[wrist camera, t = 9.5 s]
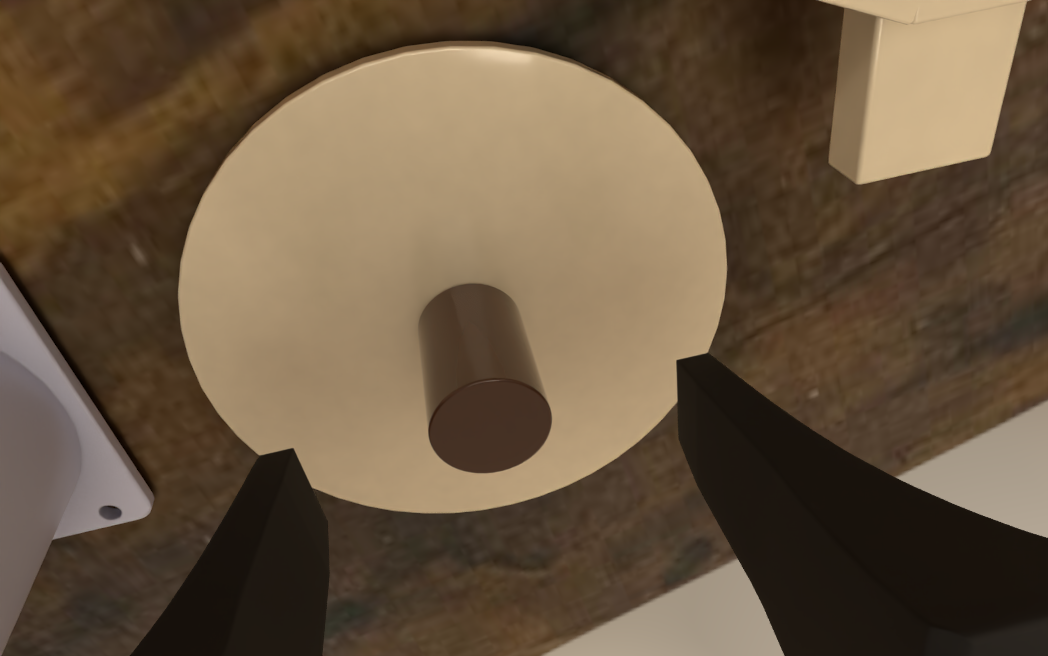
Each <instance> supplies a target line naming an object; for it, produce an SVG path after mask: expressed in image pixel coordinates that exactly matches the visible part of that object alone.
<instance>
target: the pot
mask: <svg viewBox="0 0 1048 656" xmlns="http://www.w3.org/2000/svg"><path fill="white" fill-rule="evenodd" d="M817 1H820V2H824V3H828V4H832V5H835V6H839V7H843V8H844V13H843V22H842V32H841V42H840V51H839V61H838V71H837V80H836V90H835V100H834V109H833V119H832V129H831V138H830V148H829V158H828V162H829V165H830V166H832V167H833V168H834V169H836V170H837V171H839V172H840V173H841V174H843V175H844V176H845V177H847V178H848V179H849V180H851V181H852V182H854V183H855V184H865V183H869V182H874V181H878V180H883V179H888V178H892V177H897V176H901V175H906V174H910V173H915V172H919V171H924V170H928V169H933V168H938V167H942V166H947V165H951V164H956V163H960V162H965V161H969V160H974V159H979V158H983V157H987V156H989V154H990V153H991V149H992V145H993V141H994V136H995V132H996V128H997V124H998V120H999V116H1000V111H1001V107H1002V103H1003V99H1004V95H1005V91H1006V86H1007V82H1008V78H1009V74H1010V70H1011V66H1012V61H1013V57H1014V53H1015V49H1016V45H1017V41H1018V36H1019V32H1020V28H1021V24H1022V20H1023V16H1024V11H1025V7H1026V3H1027V1H1030V0H817Z"/></svg>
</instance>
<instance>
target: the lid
mask: <svg viewBox="0 0 1048 656" xmlns="http://www.w3.org/2000/svg"><path fill="white" fill-rule="evenodd" d="M726 276H727V257H726V239H725V234H724V229H723V225H722V220H721V215H720V210H719V207H718V205H717V202H716V199H715V197H714V194H713V191H712V189H711V186H710V184H709V181H708V179H707V177H706V175H705V174H704V172H703V170H702V168H701V167H700V165H699V163H698V162H697V160H696V158H695V156H694V155H693V153H692V151H691V150H690V149H689V148H688V146H687V145H686V144H685V143H684V141H683V140H682V139H681V138H680V137H679V135H678V134H677V133H676V132H675V130H674V129H673V128H672V127H671V125H670V124H669V123H668V122H667V121H666V120H665V119H663V118H662V117H661V116H660V115H659V114H658V113H657V112H656V111H655V110H653V109H652V108H651V107H650V106H649V105H648V104H647V103H646V102H645V101H643V100H642V99H641V98H640V97H639V96H638V95H636V94H635V93H633V92H632V91H630V90H629V89H627V88H626V87H624V86H623V85H621V84H620V83H618V82H617V81H615V80H613V79H612V78H610V77H609V76H607V75H605V74H603V73H601V72H599V71H597V70H595V69H592V68H590V67H588V66H586V65H584V64H582V63H579V62H577V61H575V60H573V59H570V58H567V57H564V56H560V55H557V54H553V53H550V52H547V51H543V50H540V49H537V48H533V47H527V46H520V45H513V44H507V43H500V42H493V41H443V42H435V43H427V44H420V45H412V46H404V47H401V48H397V49H393V50H390V51H386V52H382V53H379V54H375V55H371V56H368V57H364V58H361V59H359V60H356V61H354V62H352V63H349V64H347V65H345V66H342V67H340V68H338V69H335V70H333V71H331V72H328V73H326V74H324V75H322V76H320V77H318V78H317V79H315V80H314V81H312V82H310V83H309V84H307V85H305V86H304V87H302V88H300V89H299V90H297V91H295V92H294V93H292V94H291V95H289V96H287V97H286V98H284V99H283V100H282V101H281V102H280V103H278V104H277V105H276V106H275V107H274V108H272V109H271V110H270V111H269V112H268V113H266V114H265V115H264V116H263V117H262V118H260V119H259V120H258V121H257V122H256V123H254V124H253V126H252V127H251V128H250V129H249V130H248V131H247V132H246V133H245V134H244V136H243V137H242V138H241V139H240V140H239V141H238V142H237V143H236V145H235V146H234V147H233V148H232V149H231V150H230V151H229V152H228V154H227V155H226V157H225V158H224V160H223V161H222V163H221V165H220V166H219V168H218V169H217V171H216V172H215V174H214V175H213V177H212V178H211V180H210V182H209V183H208V185H207V187H206V189H205V191H204V194H203V196H202V198H201V200H200V203H199V205H198V207H197V210H196V212H195V214H194V216H193V219H192V221H191V223H190V226H189V229H188V233H187V237H186V240H185V244H184V248H183V252H182V256H181V260H180V272H179V284H178V304H179V315H180V327H181V331H182V335H183V339H184V342H185V346H186V350H187V354H188V358H189V360H190V362H191V365H192V367H193V369H194V372H195V374H196V376H197V378H198V381H199V383H200V385H201V388H202V389H203V391H204V392H205V394H206V395H207V397H208V399H209V400H210V402H211V403H212V405H213V407H214V408H215V410H216V411H217V413H218V414H219V415H220V416H221V418H222V419H223V420H224V421H225V422H226V423H227V425H228V426H229V427H230V428H231V429H232V431H233V432H234V433H235V434H236V435H237V436H238V437H239V438H240V439H241V440H242V441H243V442H244V443H246V444H247V445H248V446H249V447H250V448H251V449H252V450H253V451H254V452H256V453H257V454H258V455H259V456H260V455H264V454H268V453H273V452H277V451H281V450H286V449H290V448H294V450H295V452H296V455H297V457H298V459H299V461H300V463H301V465H302V467H303V470H304V472H305V474H306V476H307V478H308V480H309V482H310V485H311V487H312V488H314V489H317V490H319V491H322V492H324V493H327V494H329V495H332V496H334V497H337V498H340V499H344V500H347V501H351V502H354V503H358V504H361V505H365V506H370V507H375V508H381V509H387V510H392V511H401V512H414V513H459V512H469V511H479V510H486V509H491V508H496V507H501V506H507V505H512V504H515V503H519V502H522V501H526V500H529V499H533V498H536V497H539V496H542V495H545V494H547V493H550V492H552V491H555V490H558V489H560V488H563V487H565V486H568V485H570V484H572V483H574V482H576V481H578V480H580V479H582V478H584V477H586V476H588V475H590V474H592V473H593V472H595V471H597V470H598V469H600V468H602V467H603V466H605V465H606V464H608V463H610V462H611V461H613V460H615V459H616V458H618V457H619V456H620V455H621V454H623V453H624V452H625V451H627V450H628V449H629V448H631V447H632V446H633V445H635V444H636V443H637V442H639V441H640V440H641V439H642V438H643V437H644V436H645V435H646V434H647V433H648V432H649V431H651V430H652V429H653V428H654V427H655V426H656V425H657V424H658V423H659V422H660V421H661V420H662V419H663V418H664V417H665V415H666V414H667V413H668V412H669V411H670V410H671V409H672V407H673V406H674V405H675V404H676V403H677V371H676V360H679V359H683V358H687V357H692V356H696V355H700V354H705V353H708V351H709V348H710V345H711V343H712V340H713V338H714V335H715V332H716V330H717V327H718V323H719V319H720V315H721V311H722V307H723V302H724V298H725V287H726Z"/></svg>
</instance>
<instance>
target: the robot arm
mask: <svg viewBox="0 0 1048 656" xmlns="http://www.w3.org/2000/svg"><path fill="white" fill-rule="evenodd" d="M676 371H677V403H678V435H679V441H680V443H681V446H682V449H683V451H684V454H685V456H686V459H687V461H688V464H689V466H690V469H691V471H692V474H693V476H694V479H695V481H696V483H697V486H698V487H699V489H700V491H701V493H702V495H703V497H704V499H705V500H706V502H707V504H708V506H709V508H710V510H711V511H712V513H713V515H714V517H715V519H716V520H717V522H718V524H719V526H720V528H721V529H722V531H723V533H724V535H725V537H726V538H727V540H728V542H729V544H730V546H731V547H732V549H733V551H734V553H735V554H736V556H737V558H738V560H739V562H740V563H741V565H742V567H743V569H744V571H745V572H746V574H747V576H748V578H749V579H750V581H751V583H752V585H753V587H754V589H755V591H756V593H757V595H758V597H759V599H760V601H761V603H762V605H763V607H764V609H765V612H766V614H767V616H768V619H769V621H770V623H771V626H772V628H773V630H774V632H775V635H776V637H777V640H778V642H779V644H780V646H781V649H782V651H783V653H784V655H785V656H1048V538H1046V537H1043V536H1039V535H1036V534H1033V533H1029V532H1026V531H1024V530H1021V529H1018V528H1015V527H1012V526H1010V525H1007V524H1004V523H1001V522H999V521H996V520H993V519H991V518H988V517H985V516H982V515H979V514H977V513H975V512H972V511H970V510H967V509H965V508H962V507H960V506H957V505H955V504H952V503H950V502H948V501H945V500H943V499H941V498H939V497H936V496H934V495H932V494H930V493H927V492H925V491H923V490H921V489H918V488H916V487H914V486H912V485H910V484H907V483H906V482H903V481H901V480H899V479H897V478H895V477H893V476H891V475H889V474H887V473H885V472H884V471H882V470H880V469H878V468H876V467H874V466H872V465H870V464H869V463H867V462H865V461H863V460H861V459H859V458H857V457H855V456H854V455H852V454H850V453H849V452H847V451H845V450H843V449H842V448H840V447H838V446H837V445H835V444H834V443H832V442H830V441H829V440H827V439H826V438H824V437H822V436H821V435H819V434H818V433H816V432H815V431H813V430H812V429H810V428H809V427H807V426H806V425H804V424H803V423H801V422H800V421H798V420H797V419H795V418H794V417H793V416H791V415H790V414H788V413H787V412H785V411H784V410H783V409H781V408H780V407H778V406H777V405H776V404H774V403H773V402H771V401H770V400H769V399H767V398H766V397H765V396H763V395H762V394H761V393H759V392H758V391H757V390H755V389H754V388H753V387H751V386H750V385H749V384H747V383H746V382H745V381H744V380H742V379H741V378H740V377H738V376H737V375H736V374H735V373H733V372H732V371H731V370H730V369H728V368H727V367H726V366H724V365H723V364H722V363H721V362H719V361H718V360H717V359H716V358H714V357H713V356H711V355H710V354H709V353H705V354H700V355H696V356H692V357H687V358H683V359H679V360H676ZM153 502H154V496H153V493H152V491H151V490H150V488H149V487H148V485H147V484H146V482H145V481H144V479H143V478H142V476H141V475H140V473H139V472H138V470H137V469H136V467H135V466H134V464H133V463H132V461H131V460H130V458H129V456H128V455H127V453H126V452H125V450H124V449H123V447H122V446H121V444H120V443H119V441H118V440H117V438H116V437H115V435H114V434H113V432H112V431H111V429H110V428H109V426H108V425H107V423H106V421H105V420H104V418H103V417H102V415H101V414H100V412H99V411H98V409H97V408H96V406H95V405H94V403H93V402H92V400H91V399H90V397H89V396H88V394H87V393H86V391H85V390H84V388H83V386H82V385H81V383H80V382H79V380H78V379H77V377H76V376H75V374H74V373H73V371H72V370H71V368H70V367H69V365H68V364H67V362H66V361H65V359H64V358H63V356H62V355H61V353H60V351H59V350H58V348H57V347H56V345H55V344H54V342H53V341H52V339H51V338H50V336H49V335H48V333H47V332H46V330H45V329H44V327H43V326H42V324H41V323H40V321H39V320H38V318H37V316H36V315H35V313H34V312H33V310H32V309H31V307H30V306H29V304H28V303H27V301H26V300H25V298H24V297H23V295H22V294H21V292H20V291H19V289H18V288H17V286H16V285H15V283H14V281H13V280H12V278H11V277H10V275H9V274H8V272H7V271H6V269H5V268H4V266H3V265H2V263H1V262H0V656H1V655H2V653H3V651H4V649H5V646H6V644H7V642H8V639H9V637H10V635H11V633H12V630H13V628H14V626H15V624H16V621H17V619H18V617H19V614H20V612H21V610H22V608H23V605H24V603H25V601H26V599H27V596H28V594H29V592H30V589H31V587H32V585H33V583H34V580H35V578H36V576H37V574H38V571H39V569H40V567H41V564H42V562H43V560H44V558H45V555H46V553H47V551H48V549H49V546H50V544H51V542H52V540H53V539H57V538H62V537H66V536H70V535H74V534H79V533H83V532H87V531H91V530H96V529H100V528H104V527H109V526H113V525H117V524H121V523H126V522H130V521H134V520H138V519H141V518H144V517H146V516H147V515H148V514H149V513H150V512H151V509H152V506H153ZM110 505H111V506H115V507H117V508H111V507H108V506H110ZM329 574H330V572H329V541H328V521H327V519H326V517H325V515H324V513H323V510H322V508H321V506H320V504H319V502H318V500H317V498H316V495H315V493H314V491H313V489H312V487H311V485H310V482H309V480H308V478H307V476H306V474H305V472H304V470H303V467H302V465H301V463H300V461H299V459H298V457H297V455H296V452H295V450H294V448H290V449H286V450H281V451H277V452H273V453H268V454H264V455H260V456H259V458H258V459H257V461H256V462H255V464H254V466H253V467H252V469H251V471H250V473H249V474H248V476H247V478H246V480H245V482H244V483H243V485H242V487H241V489H240V491H239V492H238V494H237V496H236V498H235V499H234V501H233V503H232V505H231V506H230V508H229V510H228V512H227V513H226V515H225V517H224V519H223V520H222V522H221V524H220V525H219V527H218V529H217V530H216V532H215V534H214V535H213V537H212V539H211V540H210V542H209V544H208V545H207V547H206V549H205V550H204V552H203V554H202V555H201V557H200V558H199V560H198V562H197V563H196V565H195V566H194V568H193V569H192V571H191V572H190V574H189V575H188V577H187V578H186V580H185V581H184V583H183V584H182V586H181V587H180V589H179V590H178V592H177V593H176V595H175V596H174V598H173V599H172V601H171V602H170V603H169V605H168V606H167V608H166V609H165V610H164V612H163V613H162V615H161V616H160V617H159V619H158V620H157V621H156V623H155V624H154V625H153V627H152V628H151V630H150V631H149V632H148V633H147V635H146V636H145V637H144V639H143V640H142V641H141V642H140V644H139V645H138V646H137V647H136V649H135V650H134V651H133V653H132V654H131V655H130V656H322V652H323V641H324V631H325V620H326V609H327V598H328V586H329Z"/></svg>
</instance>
